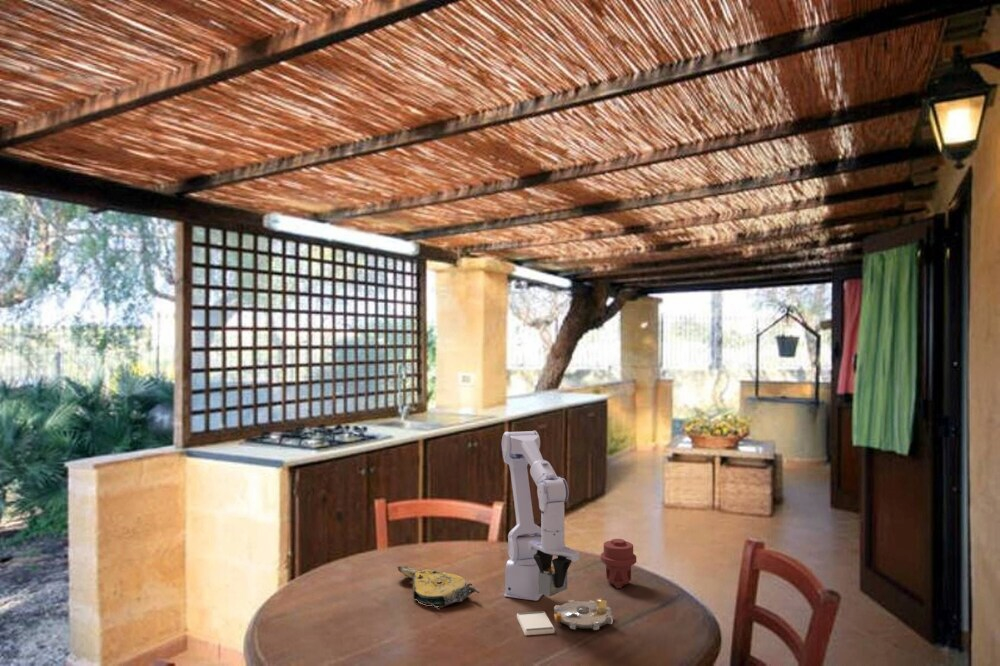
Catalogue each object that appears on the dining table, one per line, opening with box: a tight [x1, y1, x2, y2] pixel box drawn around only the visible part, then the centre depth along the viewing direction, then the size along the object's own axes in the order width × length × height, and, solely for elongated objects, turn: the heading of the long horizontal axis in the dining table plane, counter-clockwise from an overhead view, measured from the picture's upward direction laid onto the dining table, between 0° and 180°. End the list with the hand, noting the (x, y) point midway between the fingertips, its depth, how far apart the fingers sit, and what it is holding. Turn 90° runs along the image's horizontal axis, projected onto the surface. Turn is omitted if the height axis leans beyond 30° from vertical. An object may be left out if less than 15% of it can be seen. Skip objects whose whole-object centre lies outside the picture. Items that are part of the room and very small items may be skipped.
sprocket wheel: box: [553, 597, 614, 631], centre depth 154 cm, size 15×15×4 cm
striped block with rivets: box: [538, 565, 568, 597], centre depth 154 cm, size 7×4×5 cm, turn 137°
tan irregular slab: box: [397, 565, 480, 610], centre depth 173 cm, size 14×6×30 cm
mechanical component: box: [600, 538, 637, 589], centre depth 179 cm, size 12×10×10 cm
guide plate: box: [516, 610, 556, 636], centre depth 152 cm, size 10×7×1 cm
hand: (553, 584), depth 154 cm, fingers closed on striped block with rivets, 3 cm apart
